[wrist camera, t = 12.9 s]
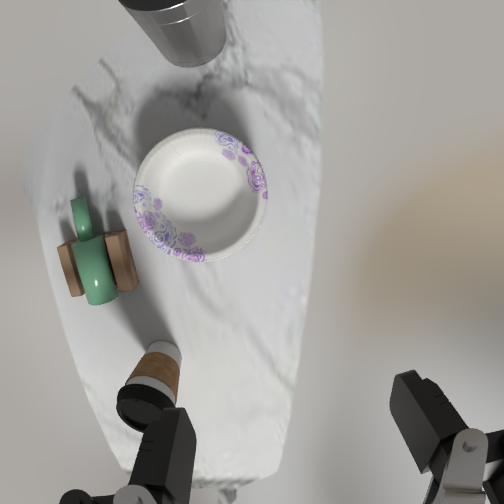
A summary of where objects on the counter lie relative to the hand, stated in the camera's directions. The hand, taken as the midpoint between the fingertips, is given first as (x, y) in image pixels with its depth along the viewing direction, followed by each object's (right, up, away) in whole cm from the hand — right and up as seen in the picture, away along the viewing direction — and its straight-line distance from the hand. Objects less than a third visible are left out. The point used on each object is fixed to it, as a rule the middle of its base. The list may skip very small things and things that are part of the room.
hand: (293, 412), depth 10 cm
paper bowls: (-8, +14, +29) cm, 33 cm away
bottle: (-24, -1, +30) cm, 38 cm away
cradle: (-24, +4, +31) cm, 40 cm away
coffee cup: (-16, -11, +37) cm, 42 cm away
